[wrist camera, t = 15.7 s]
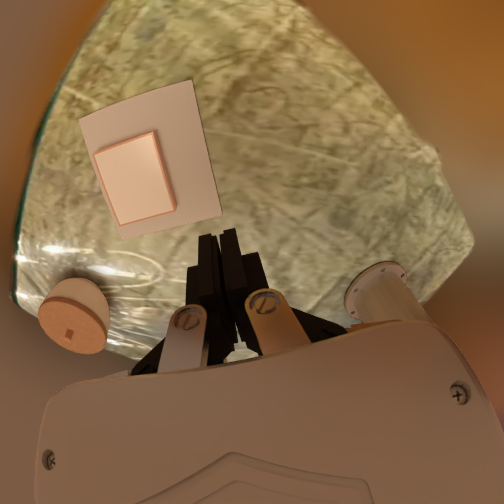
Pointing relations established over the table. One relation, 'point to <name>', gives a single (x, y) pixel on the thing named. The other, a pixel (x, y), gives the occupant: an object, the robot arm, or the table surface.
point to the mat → (173, 149)
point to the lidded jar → (76, 315)
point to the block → (136, 178)
